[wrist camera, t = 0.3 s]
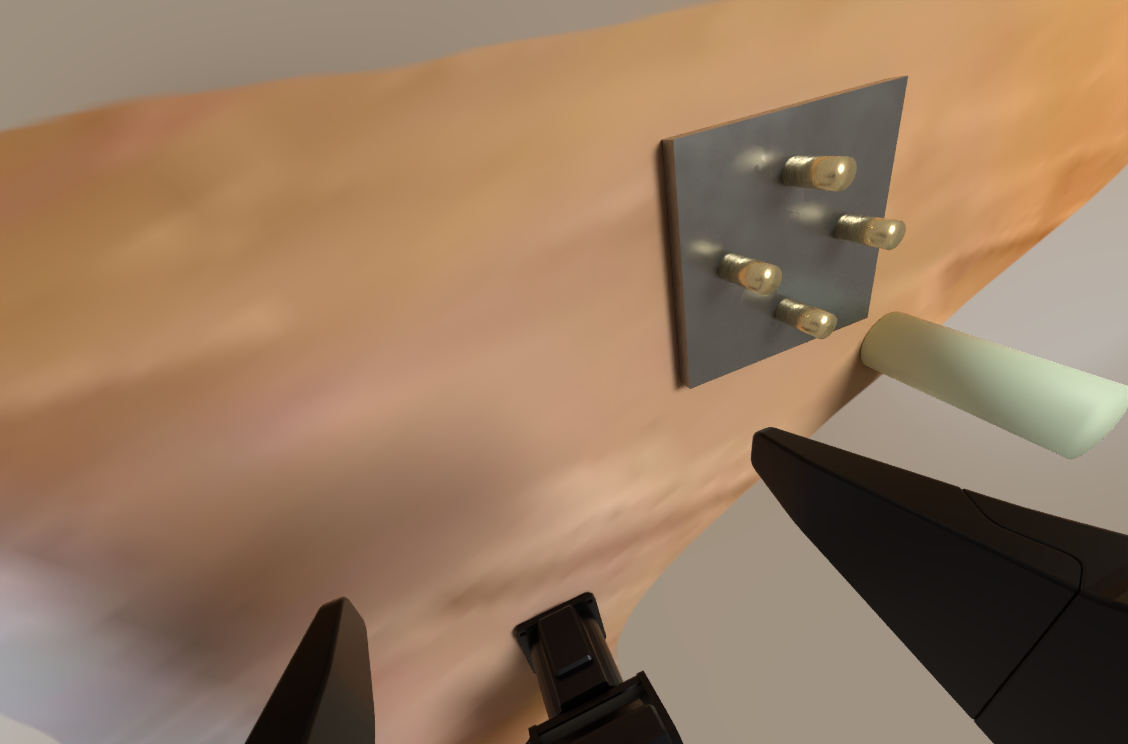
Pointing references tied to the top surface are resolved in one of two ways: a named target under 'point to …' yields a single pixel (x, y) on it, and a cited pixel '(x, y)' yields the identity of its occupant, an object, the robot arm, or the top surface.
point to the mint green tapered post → (998, 383)
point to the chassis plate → (779, 225)
